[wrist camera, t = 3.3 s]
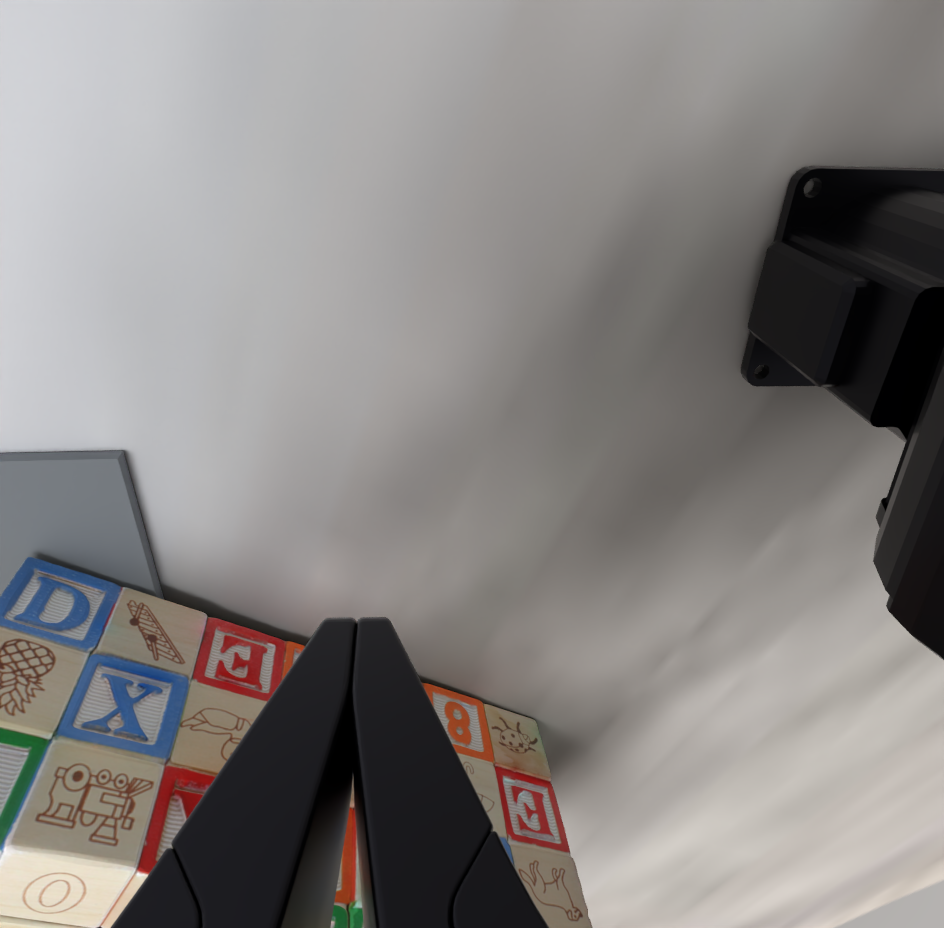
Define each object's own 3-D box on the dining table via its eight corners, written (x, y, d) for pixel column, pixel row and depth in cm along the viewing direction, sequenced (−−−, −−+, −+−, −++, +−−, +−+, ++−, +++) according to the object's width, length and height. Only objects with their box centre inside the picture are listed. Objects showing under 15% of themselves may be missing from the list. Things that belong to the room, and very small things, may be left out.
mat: (123, 450, 21) (117, 458, 21) (233, 851, 33) (231, 861, 33) (-296, 459, 20) (-311, 468, 20) (-26, 871, 32) (-31, 882, 32)
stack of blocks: (-22, 669, 25) (-305, 1122, 14) (28, 548, 22) (-268, 986, 12) (467, 796, 33) (513, 1145, 22) (542, 718, 30) (632, 1067, 20)
